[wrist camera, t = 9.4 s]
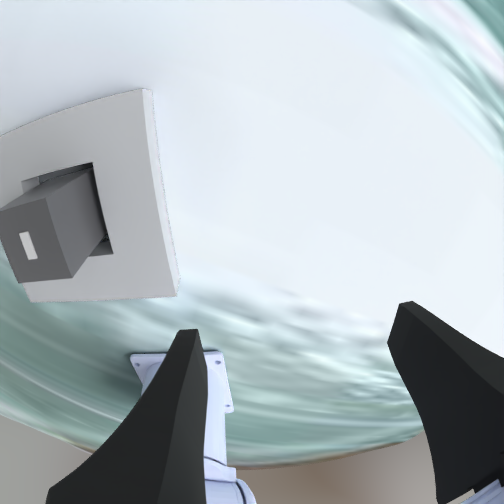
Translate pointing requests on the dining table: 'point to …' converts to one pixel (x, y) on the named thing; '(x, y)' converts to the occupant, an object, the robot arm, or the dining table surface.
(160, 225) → the outlet plate
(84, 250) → the block
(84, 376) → the dining table surface
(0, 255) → the dining table surface
